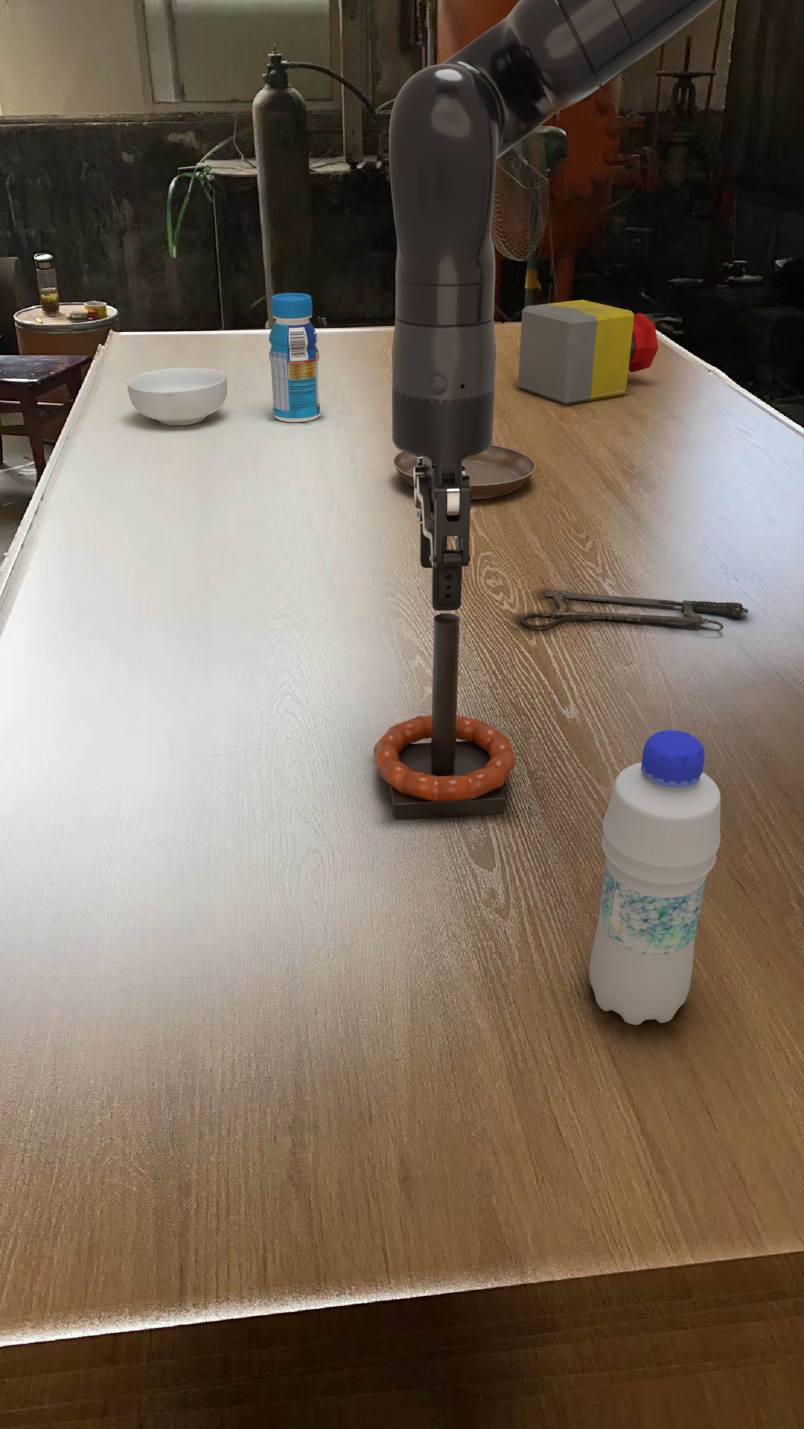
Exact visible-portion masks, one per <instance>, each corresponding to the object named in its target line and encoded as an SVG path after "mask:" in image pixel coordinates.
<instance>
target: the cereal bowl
mask: <svg viewBox="0 0 804 1429" xmlns="http://www.w3.org/2000/svg"><path fill="white" fill-rule="evenodd" d="M126 384H127V385H126V386H127V392H128V396H129V399H130V402H131V404H132V405H133V407H134V408H135V410H136V411H137V412H139V413H140V414H141V415H143V416H145V417H147V418H149V419H152V420H157V421H158V422H159V423H161V424H163V425H167V426H188V425H189V426H190V425H194V424H198V423H201V422H203V421H204V420H205V419H206V417H207V416H209V415H212V414H213V413H216V412H217V411H218V410H219V409H220V408H221V407H222V406H223V405H224V404H225V401H226V399H227V395H228V378H227V375H226V374H225V373H224V372H222V371H220V370H217V369H211V368H202V367H170V368H161V369H160V368H159V369H155V370H150V371H144V372H142V373H138V374H137V375H136V374H135V375H134V376H132V377H130V378H129V379H128V380H127V382H126Z"/></svg>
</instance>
